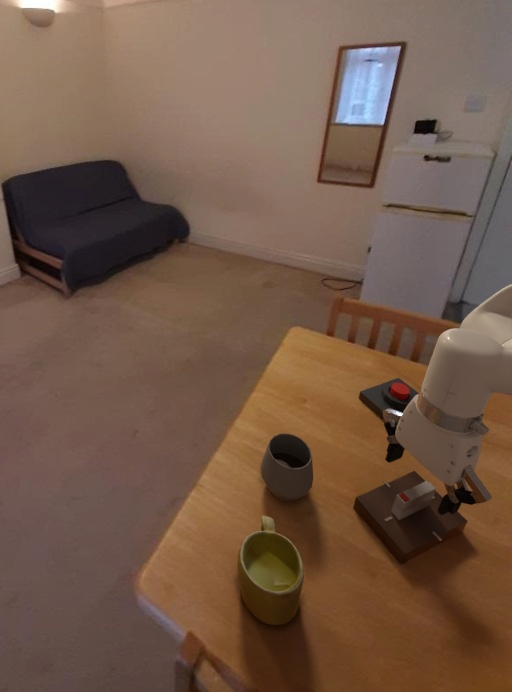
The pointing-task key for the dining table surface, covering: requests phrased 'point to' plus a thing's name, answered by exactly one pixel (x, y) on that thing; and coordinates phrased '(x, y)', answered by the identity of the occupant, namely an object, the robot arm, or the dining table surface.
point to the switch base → (407, 519)
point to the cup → (287, 467)
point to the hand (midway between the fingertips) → (418, 483)
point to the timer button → (399, 391)
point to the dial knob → (413, 500)
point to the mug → (270, 575)
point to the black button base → (385, 398)
